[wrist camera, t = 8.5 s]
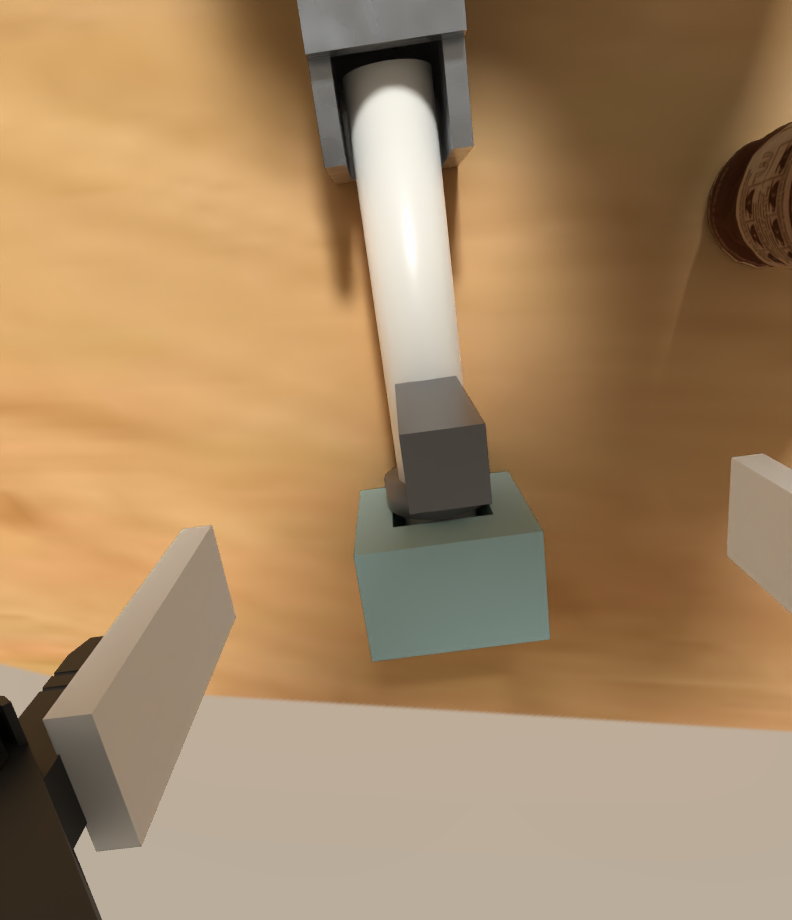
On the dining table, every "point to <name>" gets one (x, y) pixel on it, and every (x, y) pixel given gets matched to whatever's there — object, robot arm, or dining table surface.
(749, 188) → the coffee cup
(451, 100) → the sleeve
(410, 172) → the tube
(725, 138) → the dining table surface
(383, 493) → the socket
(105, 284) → the dining table surface
